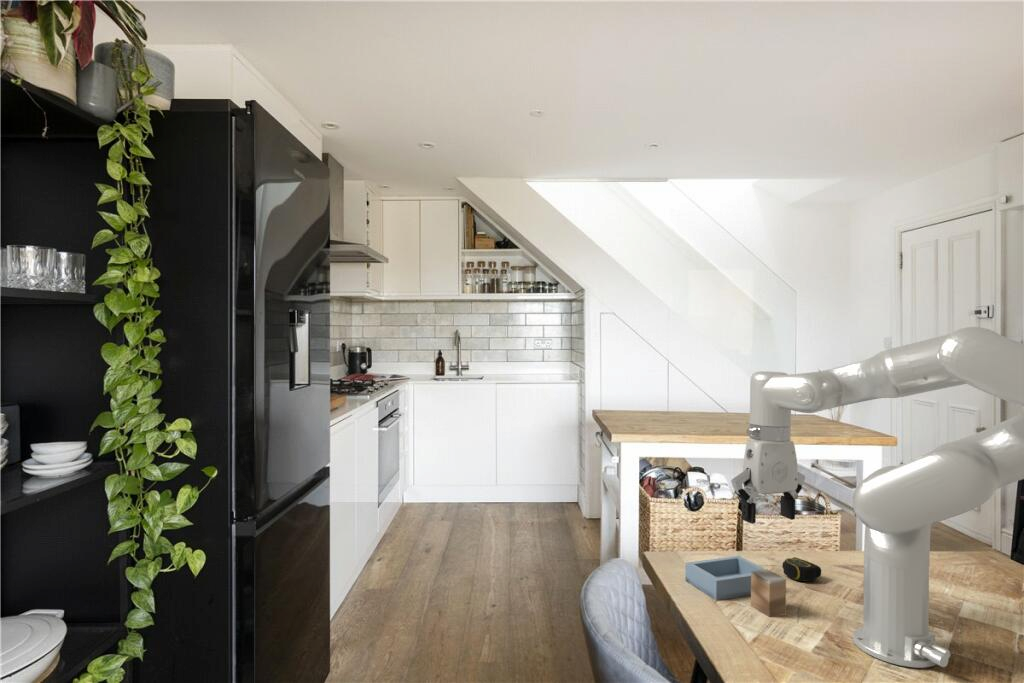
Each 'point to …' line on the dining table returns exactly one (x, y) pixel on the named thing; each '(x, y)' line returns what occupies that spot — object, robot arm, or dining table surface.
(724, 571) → the container
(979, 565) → the dining table surface
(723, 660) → the dining table surface
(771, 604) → the wooden rectangular block
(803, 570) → the tape measure
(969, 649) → the dining table surface
